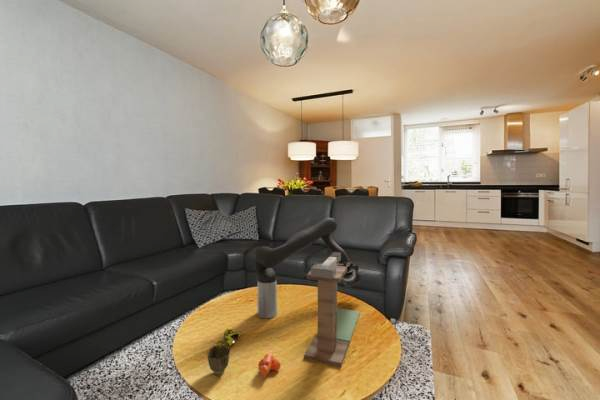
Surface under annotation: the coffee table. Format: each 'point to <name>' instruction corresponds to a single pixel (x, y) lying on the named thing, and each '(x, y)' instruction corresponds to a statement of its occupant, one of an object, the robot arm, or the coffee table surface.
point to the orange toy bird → (268, 364)
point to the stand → (327, 323)
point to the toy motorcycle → (228, 338)
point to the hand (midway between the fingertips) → (341, 264)
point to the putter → (327, 267)
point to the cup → (218, 359)
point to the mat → (346, 324)
